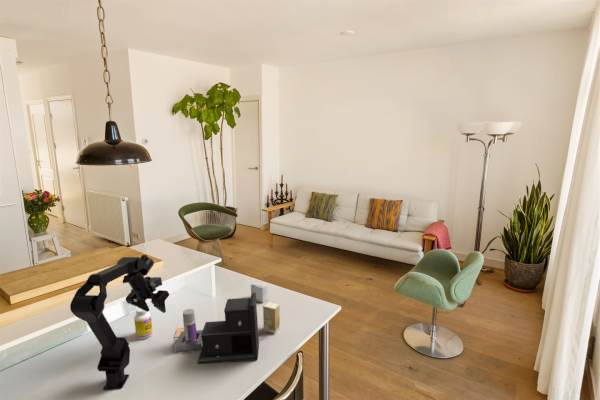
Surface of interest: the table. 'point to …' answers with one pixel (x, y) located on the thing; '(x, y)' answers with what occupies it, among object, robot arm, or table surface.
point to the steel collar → (189, 343)
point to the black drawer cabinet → (232, 334)
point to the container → (189, 325)
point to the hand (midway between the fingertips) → (156, 311)
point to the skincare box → (271, 317)
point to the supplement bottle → (143, 324)
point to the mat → (178, 332)
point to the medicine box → (260, 291)
